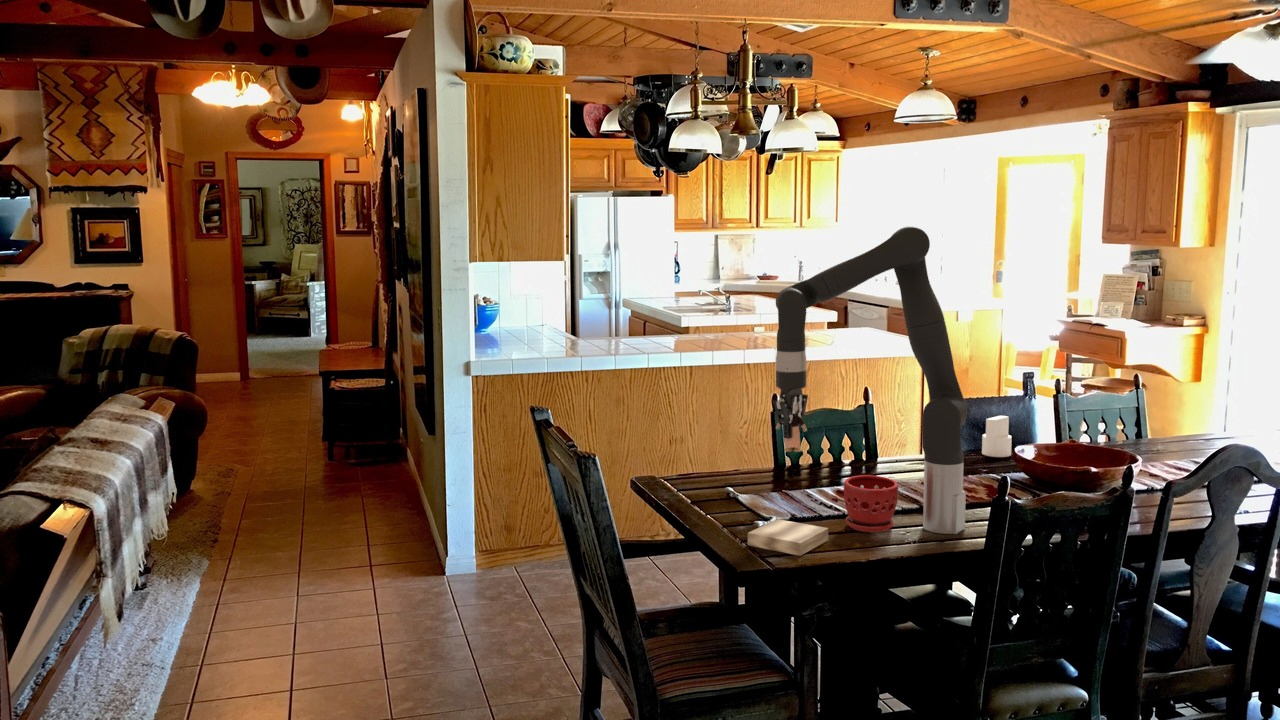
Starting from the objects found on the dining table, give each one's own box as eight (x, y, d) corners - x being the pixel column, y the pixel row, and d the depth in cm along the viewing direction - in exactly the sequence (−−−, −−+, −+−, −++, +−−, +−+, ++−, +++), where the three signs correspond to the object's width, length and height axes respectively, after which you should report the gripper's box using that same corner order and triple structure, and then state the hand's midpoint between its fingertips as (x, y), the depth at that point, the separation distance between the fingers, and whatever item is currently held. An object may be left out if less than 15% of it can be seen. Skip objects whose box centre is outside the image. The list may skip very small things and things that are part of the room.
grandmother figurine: (806, 449, 258) (806, 399, 257) (806, 452, 254) (807, 401, 253) (775, 449, 259) (775, 399, 258) (775, 451, 255) (776, 401, 254)
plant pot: (833, 528, 255) (833, 481, 253) (862, 517, 264) (863, 472, 262) (878, 539, 245) (879, 490, 244) (907, 527, 255) (908, 480, 253)
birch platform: (828, 540, 245) (828, 528, 245) (800, 555, 234) (800, 543, 234) (777, 530, 254) (777, 519, 253) (747, 545, 243) (747, 532, 242)
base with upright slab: (991, 449, 340) (992, 414, 338) (1016, 454, 333) (1017, 417, 331) (976, 453, 334) (977, 417, 332) (1001, 458, 327) (1002, 421, 326)
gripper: (790, 373, 246) (790, 443, 248) (817, 366, 257) (817, 433, 259) (763, 371, 251) (764, 440, 253) (791, 364, 262) (791, 430, 264)
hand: (791, 436), depth 256 cm, fingers closed on grandmother figurine, 3 cm apart
